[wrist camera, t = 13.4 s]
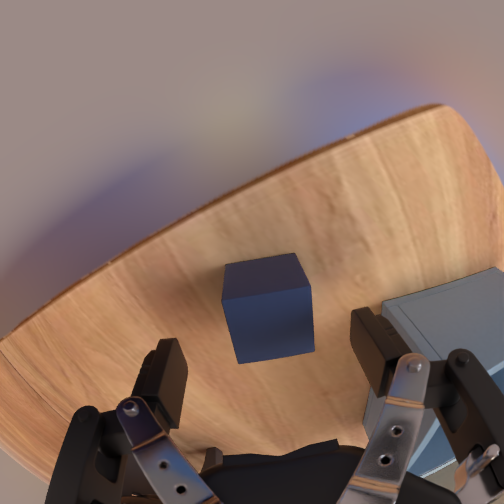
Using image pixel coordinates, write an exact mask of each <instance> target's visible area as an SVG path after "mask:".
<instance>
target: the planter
mask: <svg viewBox="0 0 504 504" xmlns="http://www.w3.org/2000/svg"><path fill="white" fill-rule="evenodd" d="M219 463H223V460H222V451H220V450H219V449H217V448H216V447H215V448H210V449H207V452H206V457H205V462H204V465H203V468H202V470H201V472H202V471H204V470H206V469H207V468H209V467H211V466H213V465H216V464H219ZM132 494H133V495H136V496H132ZM120 504H163V503H162V501H161V500H160V498H159V497H158V495H157V494H156V492H155V491H154V489H153V488H152V486H151V485H150V483H149V481H148V480H147V478H146V476H145V475H144V473H143V471H142V470H141V468H140V466H139V465H138V463H137V461H136V459H135V457H134V456H133V454H128V460H127V465H126V471H125V477H124V483H123V489H122V496H121V503H120Z"/></svg>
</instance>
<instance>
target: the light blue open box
mask: <svg viewBox="0 0 504 504" xmlns="http://www.w3.org/2000/svg"><path fill="white" fill-rule="evenodd" d="M381 315H382V316H383V317H385V318H387V319H388V320H389V321H390V322H391V324H392V325H393V326H394V328H395V329H396V330H397V332H398V333H399V334H400V336H401V337H402V338H403V340H404V341H405V342H406V344H407V345H408V346H409V348H410V349H411V351H412V352H413V353H418V354H421V355H423V356H425V357H426V358H427V359H428V360H429V361H437V360H446V359H447V357H448V355H449V353H450V352H451V351H452V350H454V349H459V348H462V349H467V350H469V351H471V352H472V353H473V354H474V355H475V356H476V358H477V359H478V360H479V362H480V363H481V364H482V365H483V367H484V368H485V369H486V371H487V372H488V374H489V375H490V376H491V378H492V379H493V380H494V382H495V383H496V385H497V386H498V387H499V389H500V390H501V392H502V393H503V395H504V272H502V271H500V270H499V269H498V268H496V267H493V268H491V269H488V270H485V271H482V272H480V273H477V274H474V275H471V276H468V277H465V278H462V279H459V280H456V281H453V282H450V283H447V284H443V285H440V286H437V287H434V288H430V289H427V290H423V291H420V292H417V293H413V294H409V295H406V296H402V297H398V298H395V299H391V300H387V301H383V302H382V312H381ZM385 399H386V396H384V397H381V398H378V399H377V397H376V395H375V393H374V391H373V389H372V387H371V388H370V393H369V397H368V402H367V407H366V411H365V415H364V419H363V426H364V428H365V431H366V434H367V436H368V439H369V440H370V438H371V435H372V433H373V430H374V428H375V426H376V423H377V421H378V418H379V415H380V413H381V410H382V408H383V405H384V402H385ZM455 458H456V457H455V455H454V453H453V451H452V448H451V446H450V444H449V442H448V440H447V437H446V435H445V433H444V431H443V429H442V427H441V425H440V423H439V421H438V419H437V417H436V415H435V413H434V411H433V409H432V408H431V409H424V413H423V417H422V421H421V425H420V429H419V433H418V436H417V440H416V443H415V446H414V450H413V453H412V456H411V459H410V462H409V465H408V468H407V470H406V471H409V472H411V473H413V474H415V475H417V476H419V477H420V476H422V475H424V474H426V473H428V472H430V471H432V470H434V469H436V468H438V467H440V466H442V465H444V464H446V463H447V462H449V461H451V460H453V459H455Z"/></svg>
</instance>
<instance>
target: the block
mask: <svg viewBox="0 0 504 504" xmlns="http://www.w3.org/2000/svg"><path fill="white" fill-rule="evenodd" d="M221 301H222V305H223V309H224V313H225V317H226V321H227V325H228V328H229V332H230V336H231V339H232V343H233V347H234V350H235V354H236V358H237V361H238V364H244V363H251V362H258V361H265V360H271V359H277V358H283V357H289V356H294V355H300V354H305V353H310V352H314V351H315V345H314V325H313V308H312V294H311V285H310V283H309V281H308V279H307V277H306V275H305V273H304V271H303V268H302V266H301V264H300V262H299V260H298V258H297V256H296V254H295V253H291V254H285V255H279V256H273V257H267V258H261V259H255V260H249V261H243V262H237V263H231V264H226V265H225V273H224V282H223V291H222V300H221Z"/></svg>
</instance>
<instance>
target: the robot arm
mask: <svg viewBox="0 0 504 504" xmlns="http://www.w3.org/2000/svg"><path fill="white" fill-rule="evenodd" d="M350 341H351V346H352V348H353V351H354V353H355V354H356V356H357V358H358V360H359V362H360V364H361V366H362V368H363V370H364V372H365V374H366V377H367V379H368V381H369V383H370V385H371V387H372V389H373V391H374V393H375V395H376V397H377V399H378V398H381V397H384V396H386V399H385V402H384V405H383V408H382V410H381V413H380V415H379V418H378V421H377V423H376V426H375V428H374V430H373V433H372V435H371V438H370V440H369V442H368V444H367V447H366V449H363V448H360V447H356V446H349V445H339V444H338V441H337V439H333V440H329V441H325V442H320V443H316V444H311V445H308V446H305V447H303V448H301V449H298V450H296V451H293V452H290V453H288V454H285V455H282V456H272V455H260V454H239V455H223V463H219V464H216V465H213V466H211V467H209V468H207V469H206V470H204V471H202V472H201V473H200V474H198V472H197V471H196V470H195V469H194V468H193V466H192V465H191V464H190V463H189V461H188V460H187V459H186V458H185V456H184V455H183V454H182V453H181V451H180V450H179V449H178V447H177V446H176V445H175V443H174V442H173V440H172V439H171V438H170V436H169V430H170V429H178V428H179V422H180V416H181V410H182V404H183V398H184V393H185V387H186V381H187V376H188V366H187V362H186V360H185V357H184V355H183V352H182V350H181V347H180V345H179V342H178V340H177V338H168V339H160V340H159V343H158V345H157V348H156V350H151V351H150V352H149V354H148V355H147V356H146V357H145V358H144V361H143V364H142V367H141V369H140V372H139V373H140V374H138V377H137V380H136V383H135V385H134V388H133V391H132V394H131V397H128V398H125V399H124V400H122V401H121V402H120V403H119V404H118V406H117V408H116V410H112V411H107V412H102V413H100V412H99V411H98V410H97V408H95V407H94V406H84V407H81V408H80V409H78V410H77V411H76V412H75V413H74V415H73V418H72V420H71V423H70V425H69V428H68V431H67V433H66V436H65V439H64V442H63V444H62V447H61V450H60V453H59V456H58V459H57V462H56V465H55V468H54V471H53V475H52V478H51V481H50V485H49V489H48V492H47V496H46V500H45V504H120V503H121V496H122V489H123V483H124V477H125V471H126V465H127V460H128V454H133V456H134V457H135V459H136V461H137V463H138V465H139V466H140V468H141V470H142V471H143V473H144V475H145V476H146V478H147V480H148V481H149V483H150V485H151V486H152V488H153V489H154V491H155V492H156V494H157V495H158V497H159V498H160V500H161V501H162V503H163V504H491V503H493V502H494V501H496V500H497V499H499V498H500V497H502V496H503V495H504V395H503V393H502V392H501V390H500V389H499V387H498V386H497V385H496V383H495V382H494V380H493V379H492V378H491V376H490V375H489V374H488V372H487V371H486V369H485V368H484V367H483V365H482V364H481V363H480V362H479V360H478V359H477V358H476V356H475V355H474V354H473V353H472V352H471V351H469V350H467V349H462V348H459V349H454V350H452V351H451V352H450V353H449V355H448V357H447V359H446V360H437V361H429V360H428V359H427V358H426V357H425V356H423V355H421V354H418V353H413V352H412V351H411V349H410V348H409V346H408V345H407V344H406V342H405V341H404V340H403V338H402V337H401V336H400V334H399V333H398V332H397V330H396V329H395V328H394V326H393V325H392V324H391V322H390V321H389V320H388V319H387V318H385V317H383V316H382V315H380V314H379V315H376V316H375V315H374V314H373V312H372V311H371V310H370V308H369V307H363V308H359V309H355V310H352V312H351V328H350ZM431 408H432V409H433V411H434V413H435V415H436V417H437V419H438V421H439V423H440V425H441V427H442V429H443V431H444V433H445V435H446V437H447V440H448V442H449V444H450V446H451V448H452V451H453V453H454V455H455V457H456V460H457V462H458V464H459V466H458V467H457V468H456V470H455V473H454V482H455V489H454V492H453V491H451V490H449V489H447V488H444V487H442V486H439V485H437V484H435V483H432V482H430V481H428V480H426V479H423V478H421V477H419V476H417V475H415V474H413V473H411V472H409V471H406V470H407V468H408V465H409V462H410V459H411V456H412V453H413V450H414V446H415V443H416V440H417V436H418V433H419V429H420V425H421V421H422V417H423V413H424V409H431Z"/></svg>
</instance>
